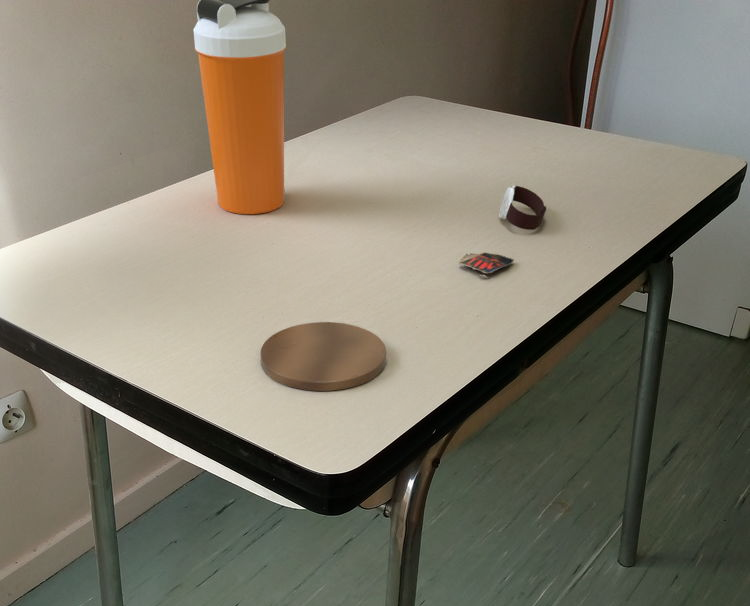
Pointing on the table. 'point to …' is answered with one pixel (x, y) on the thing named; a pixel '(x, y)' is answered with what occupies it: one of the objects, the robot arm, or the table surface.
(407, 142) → the table surface
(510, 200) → the watch
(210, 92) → the shaker bottle
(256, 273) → the table surface
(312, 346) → the coaster
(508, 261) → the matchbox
